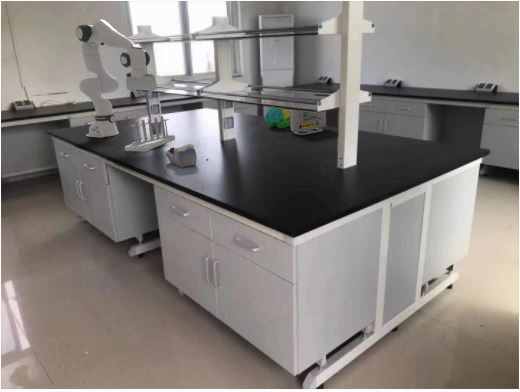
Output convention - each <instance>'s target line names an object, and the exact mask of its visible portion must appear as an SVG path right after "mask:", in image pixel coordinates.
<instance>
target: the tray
mask: <svg viewBox="0 0 520 392" xmlns="http://www.w3.org/2000/svg"><path fill="white" fill-rule="evenodd" d="M170 135H171V137H167V138H163V139H159V140H154V141H150V142H146V143H142V144H138V145H136V144H133V143H131V144H129V145H126V146H125V145H124V151H126V152H144V153H145V152H148V151H150V150H153V149H155V148H157V147H160V146H161V145H164V144H166V143H168V142H171V141H173V140H175V139H176V134H170ZM159 136H163V134H160V133H159ZM154 137H157V135H156V134H153V138H154ZM150 138H151V137H150V136H149V137H148V136H147V139H150ZM142 140H145V139H144V138H143V139H142Z"/></svg>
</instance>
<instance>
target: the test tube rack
mask: <svg viewBox="0 0 520 392" xmlns="http://www.w3.org/2000/svg"><path fill="white" fill-rule="evenodd" d="M167 121H169V118H164V116H163V115H162V116H160V119H158V118H157V117H154V118H153V120H152V119H151V118H147V121H146V122H145V119H141V123H139V121H138V120H135V121H134V123H135V124H131V125H129V127H132V128H133V134H134V140H135V141H133V142H132V144H136V145H138V144H142V143H146V142H150V141H154V140H159V139H163V138H167V137H171V135H172V134H169V133H168V126H167ZM159 123H160V125H161V131H162V133H161V134H162V135H163V136H159V134H160V129H159ZM152 124H154V126H155V127H154V128H155V135H157V137H154V138H153V135H154V132H153V131H154V130H153V125H152ZM146 125H148V128H149V137H151V138H150V139H147V138H148V135H147V134H148V133H147V126H146ZM140 126H142V132H143V139H145V140H143V139H142V138H141V133H140Z"/></svg>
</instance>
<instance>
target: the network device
mask: <svg viewBox="0 0 520 392" xmlns="http://www.w3.org/2000/svg"><path fill="white" fill-rule="evenodd" d="M290 123H291V126H290V131H292V132H294V134H295V135H300V136H301V135H308V134H314V133H318V132H322V131H324V129H323V128H325V127H326V126H327V125H326V124H327V110H326V111H324V112H319V113H312V112H304V111H296V110H290Z"/></svg>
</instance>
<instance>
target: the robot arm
mask: <svg viewBox="0 0 520 392" xmlns="http://www.w3.org/2000/svg"><path fill="white" fill-rule="evenodd" d="M75 35H76V37H77V39H78V40H79V41H80V42H81V53H82V57H83V60H84V64H85V68H86V70H87V71H88V72H90V73H91V74H92V73H93V74H95V75H96V77H88V78H85V79H82V80H80V82H79V90H80V92H81V93H82V94H83V95H85V97H88V99H90V101H91V102H92V104H93V106H94V110H95V114H96V115H95V116H94V115H93V118H94V119H95V120H94V121H93V122H92V124H91V125H90V126H89V128H88V130H89V131H88V132H89V133H86V137H91V138H100V139H101V138H105V137H111V136H116V135H119V134H120V132H119V131H118V127H117V124H116V121H115V119H116V118H115V113H114V111H113V105H112V102H111V101H110V100H108V99H107V98H103V96H102V95H104V94H111V93H115V92H117V91H118V90H119V88H120V82H119V80H118V79H117V77H115V76H113V75H112V74H110V73H109V72H108V71H107V69H106V67H105V65H104V62H103V59H102V55H101V51H100V45H101V46H104V45H105V46H107V47H109V48H119V49H124V50H126V51H124V52H122V53H121V54H120V57H119V59H120V63H121V65H122V66H123V67H124V68H128V69H131V71H130V72H127V73H125V77H126V78H125V85H126V86H125V87H126V88H127V89H128V90H131V91H132V93H133V94H134V97H139V93H137V90H141V91H143V90H145V91H148V93H147V98H151V97H152V93H153V91H155V90H157V89H158V84H157V81H156V76H155V75H154V73H148V65H149V64H150V61H151V56H150V54H149V53H148V51H147V50H145V49H144V47H143V46H141V45H137V44H136V43H134V41H133V40H131V39H130V38H128V37H127V36H125V35H123V34H122V33H121V32H119V31H118V30H116V29H115V28H114V27H113V26H112V25H111V24H110V23H109V22H108V21H106V20H104V19H97V20H96V21H95V22H94V23H93V24H80V25H78V26H77V27H76V31H75Z"/></svg>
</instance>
